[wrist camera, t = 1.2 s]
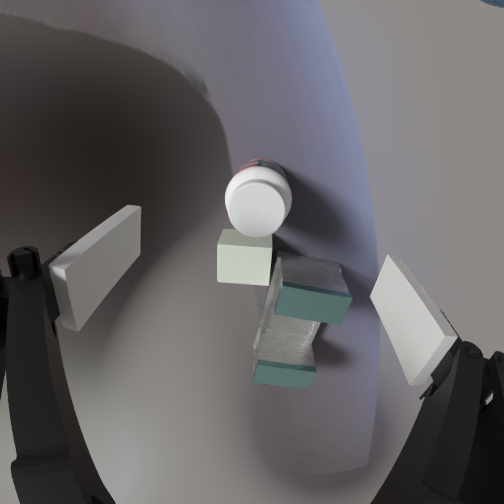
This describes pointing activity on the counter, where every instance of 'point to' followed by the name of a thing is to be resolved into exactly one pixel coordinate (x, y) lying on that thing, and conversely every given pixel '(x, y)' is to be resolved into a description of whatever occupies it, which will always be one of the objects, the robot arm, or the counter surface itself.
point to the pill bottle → (258, 198)
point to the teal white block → (296, 318)
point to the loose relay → (243, 258)
